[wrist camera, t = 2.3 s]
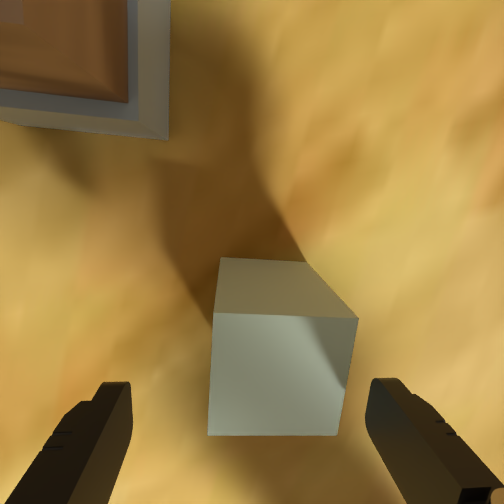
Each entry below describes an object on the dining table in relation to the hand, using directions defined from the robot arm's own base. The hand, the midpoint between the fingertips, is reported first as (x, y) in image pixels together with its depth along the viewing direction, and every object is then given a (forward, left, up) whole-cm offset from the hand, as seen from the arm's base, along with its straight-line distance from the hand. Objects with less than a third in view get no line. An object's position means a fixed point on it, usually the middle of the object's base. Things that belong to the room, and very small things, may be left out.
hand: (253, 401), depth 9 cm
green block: (-1, 0, -8) cm, 8 cm away
